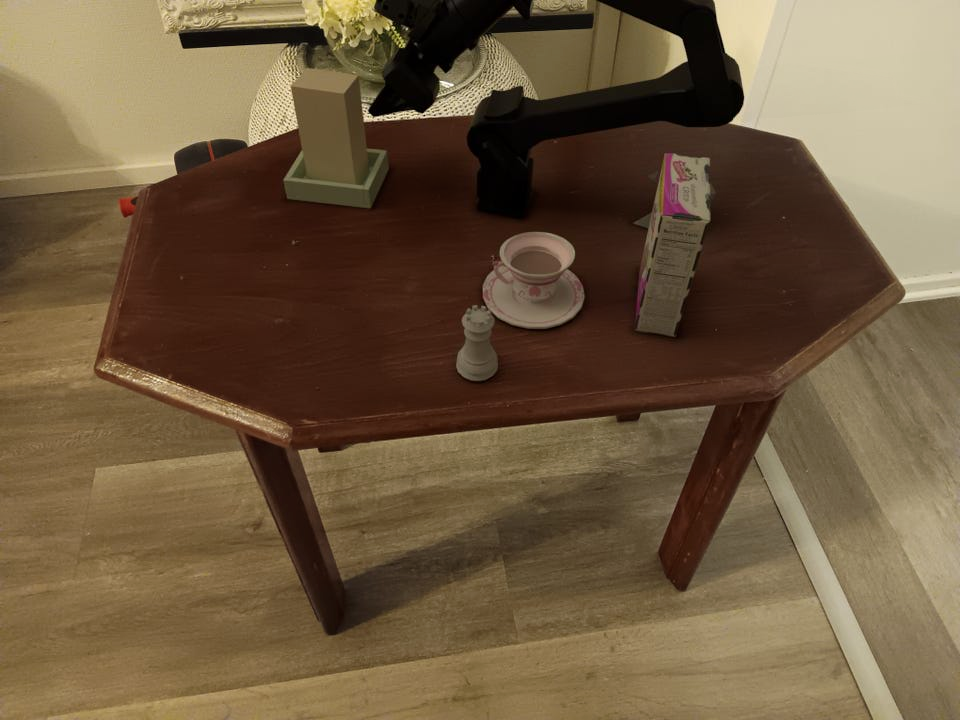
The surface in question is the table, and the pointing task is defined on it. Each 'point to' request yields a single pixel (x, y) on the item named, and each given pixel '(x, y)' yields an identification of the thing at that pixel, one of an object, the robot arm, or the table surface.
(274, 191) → the table surface
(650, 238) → the candy bar box
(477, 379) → the rook chess piece
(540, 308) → the teacup
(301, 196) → the socket
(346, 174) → the tan rectangular block
